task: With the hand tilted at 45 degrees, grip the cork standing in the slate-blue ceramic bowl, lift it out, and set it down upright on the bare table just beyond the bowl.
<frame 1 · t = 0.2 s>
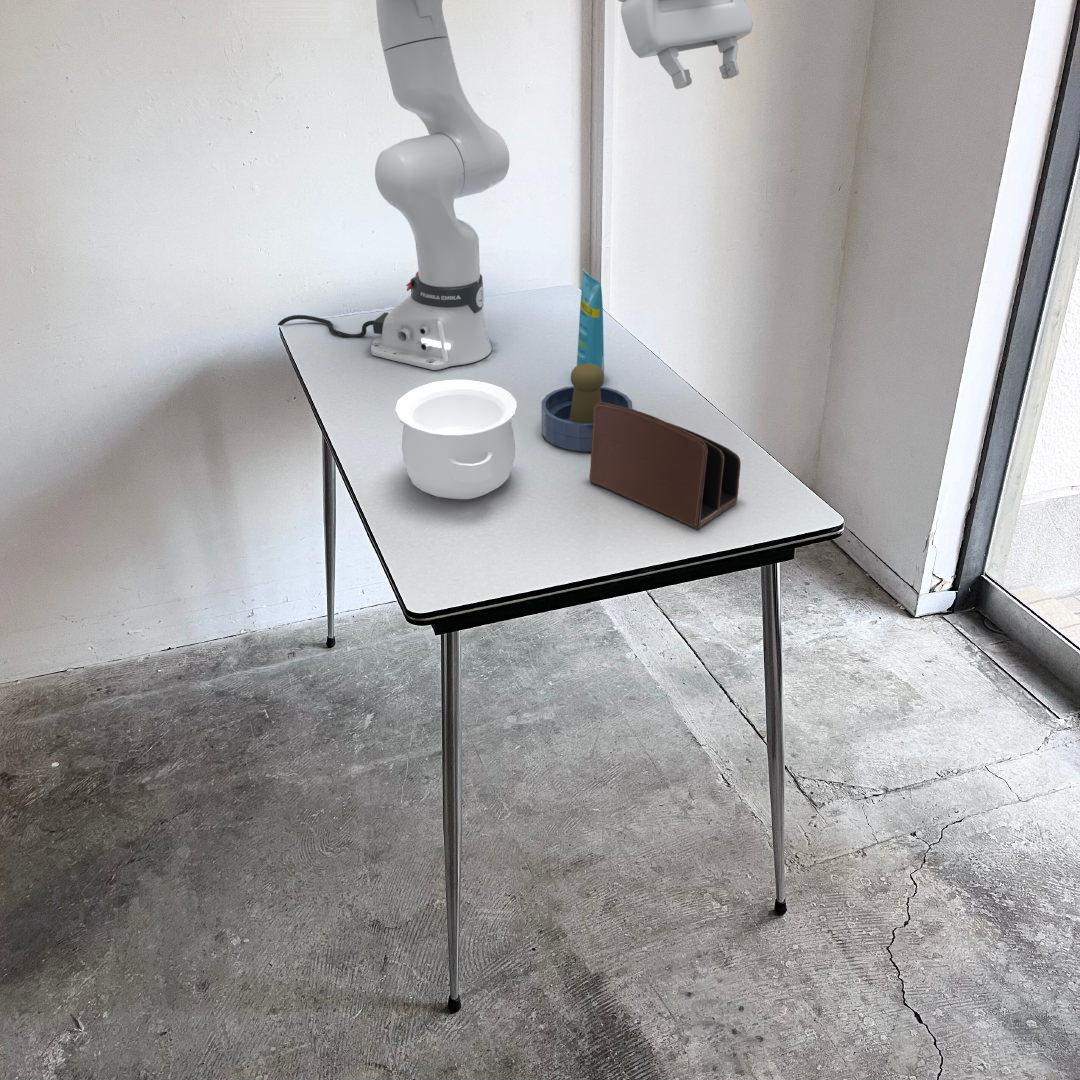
hand: (708, 82, 139), 54 cm above the table, tool tilted 30°, fingers open, 8 cm apart
bowl: (586, 432, 175), on the table
letter holder: (661, 493, 159), on the table
tube: (589, 382, 192), on the table
cork: (586, 431, 175), resting on bowl
pot: (460, 481, 163), on the table
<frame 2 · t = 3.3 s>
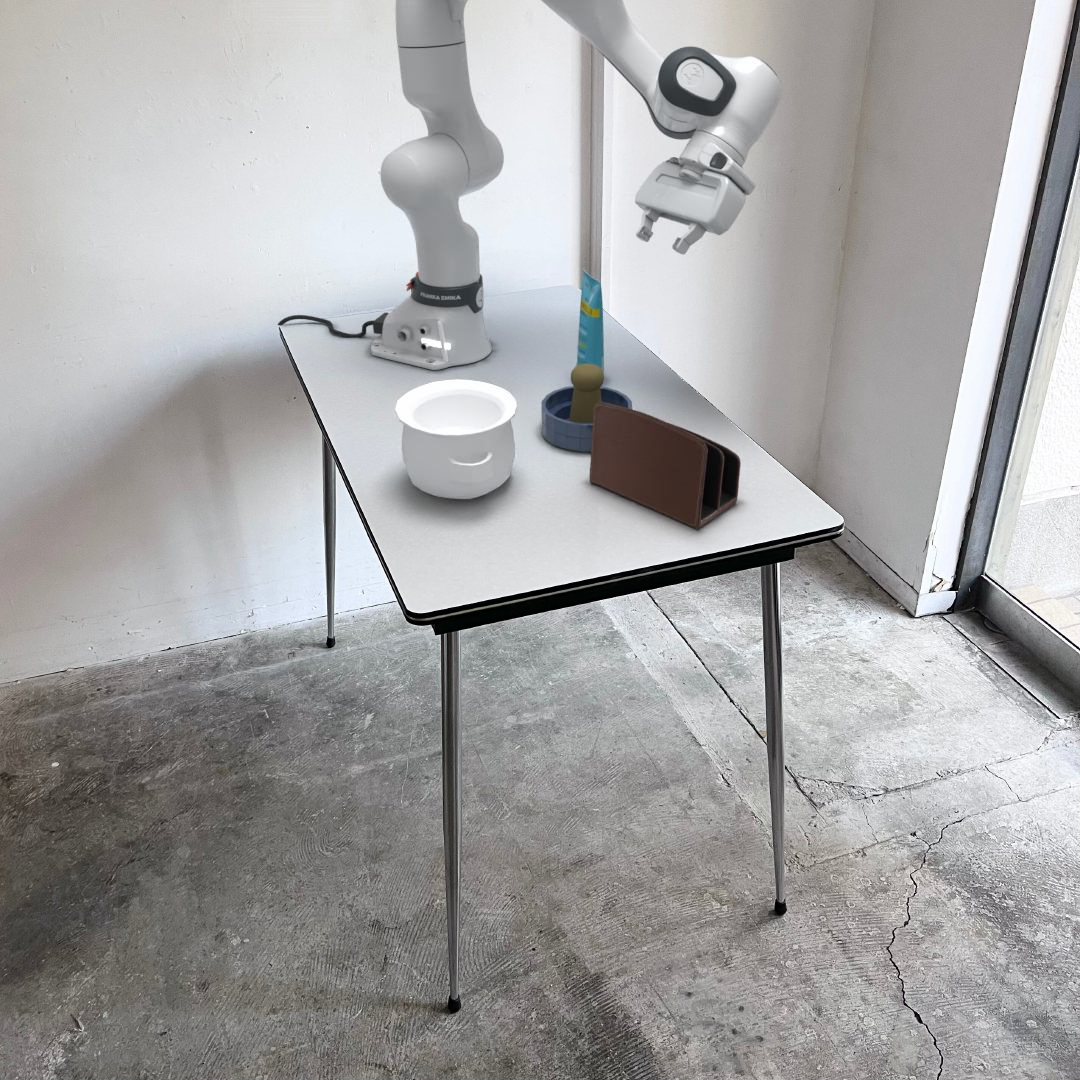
hand: (659, 245, 165), 28 cm above the table, tool tilted 40°, fingers open, 8 cm apart
nothing on the table moved.
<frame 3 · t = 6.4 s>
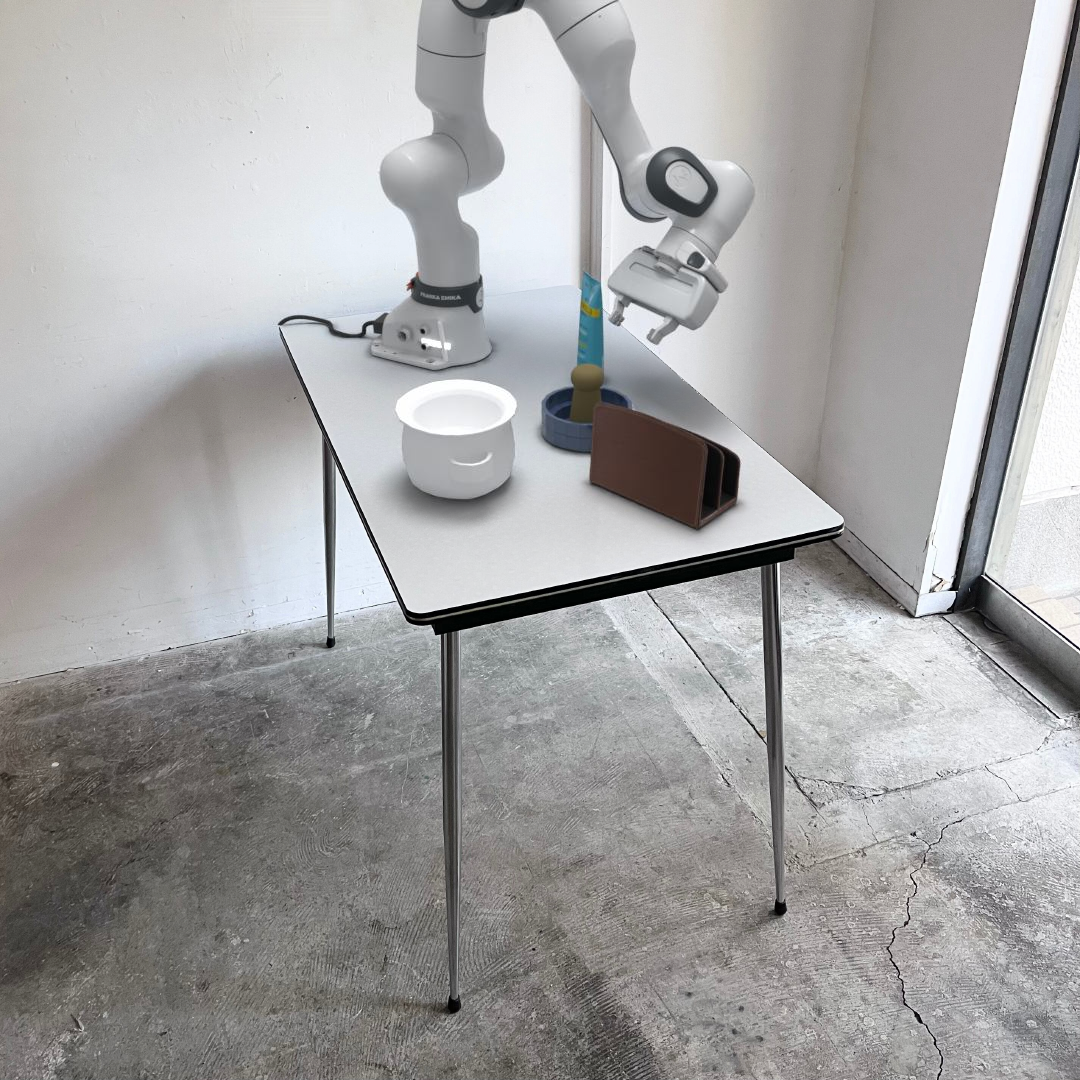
hand: (631, 332, 172), 15 cm above the table, tool tilted 45°, fingers open, 8 cm apart
nothing on the table moved.
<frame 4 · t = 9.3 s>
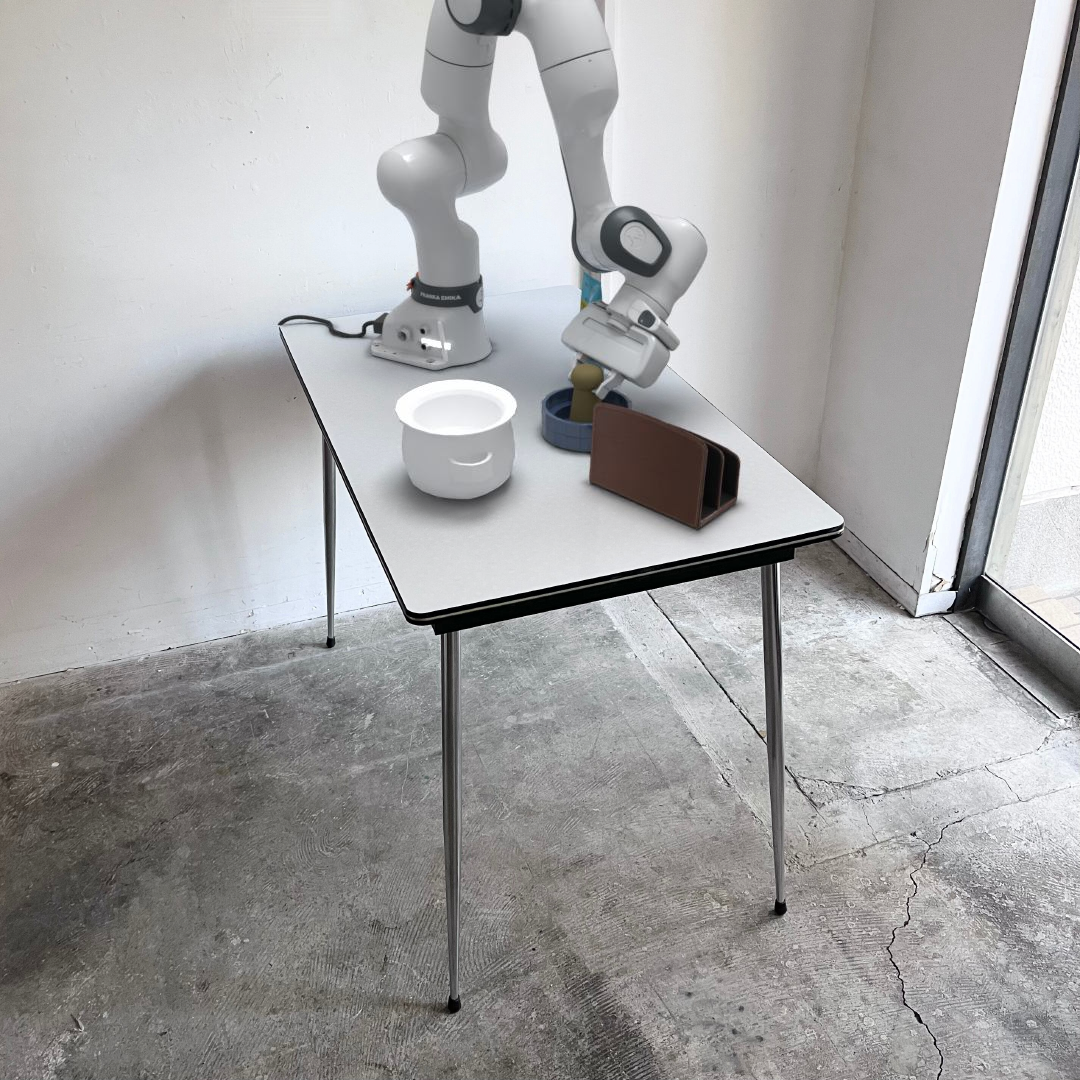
hand: (584, 389, 171), 8 cm above the table, tool tilted 45°, fingers closed on cork, 5 cm apart
cork: (586, 431, 175), resting on bowl, touching gripper
everything else where it was.
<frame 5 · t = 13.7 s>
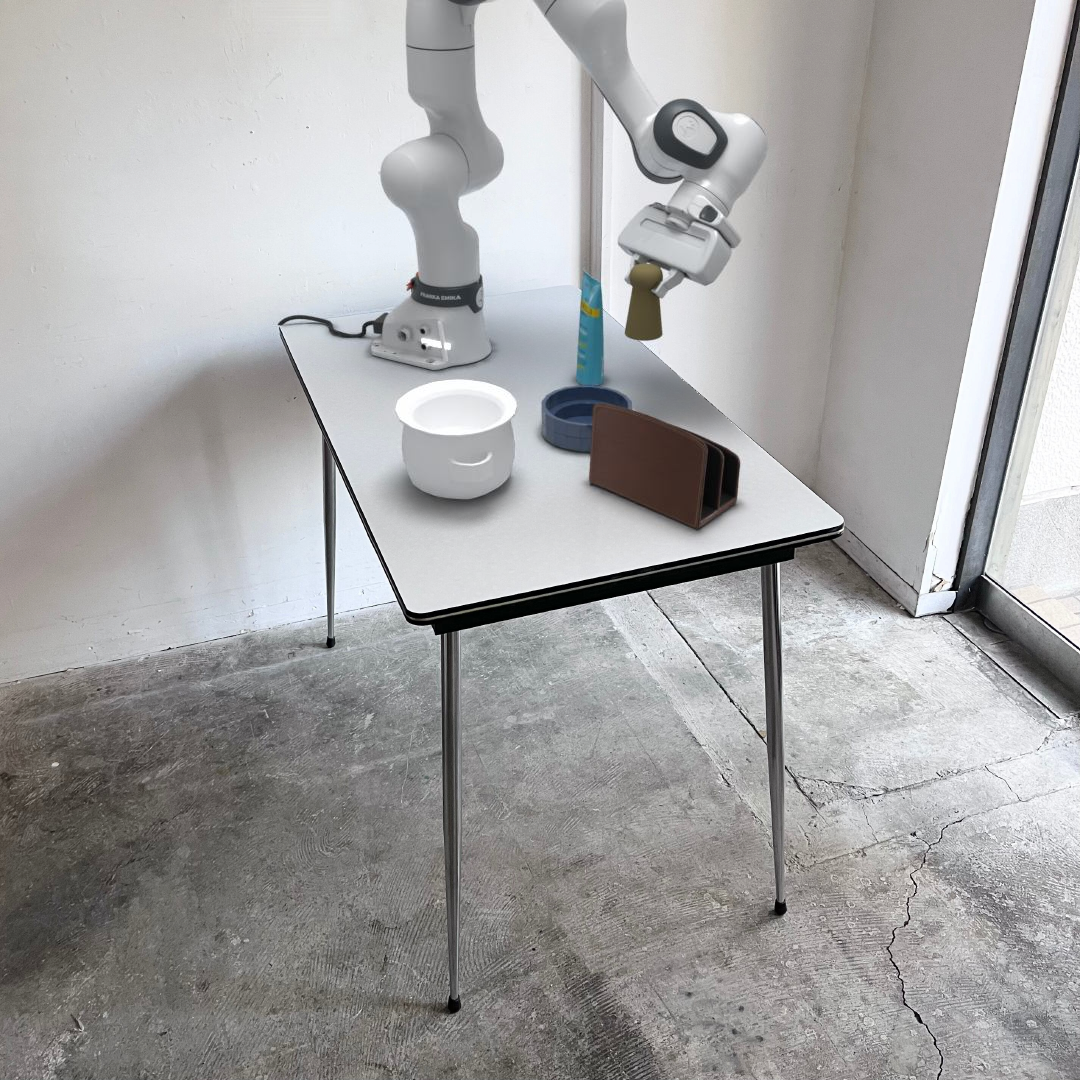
hand: (642, 289, 169), 22 cm above the table, tool tilted 45°, fingers closed on cork, 5 cm apart
cork: (643, 334, 173), point 14 cm above the table, touching gripper
everything else where it was.
when the fingers open (7 cm above the table, at t = 18.4 s): cork stays where it is, on the table.
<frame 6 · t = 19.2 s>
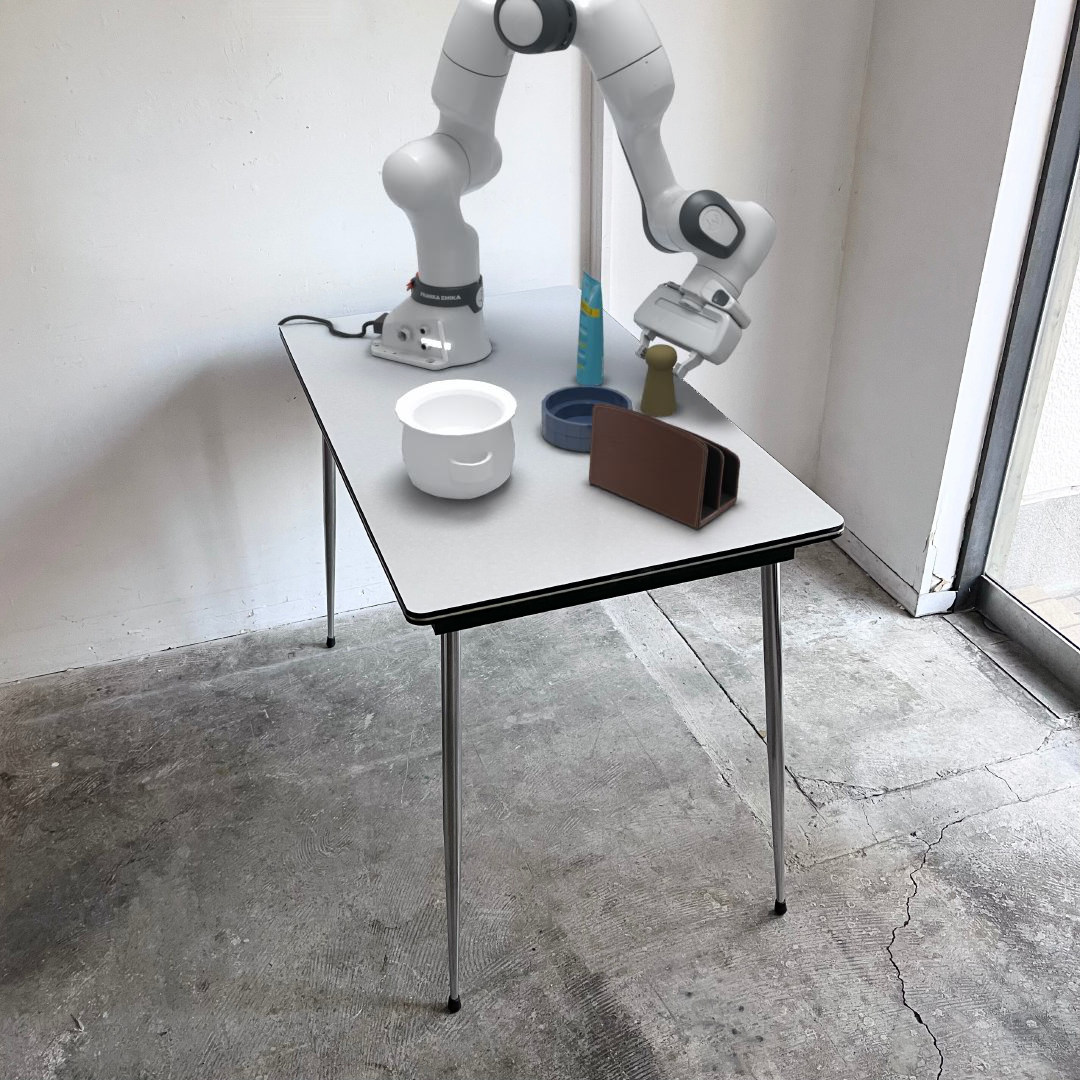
hand: (657, 366, 178), 8 cm above the table, tool tilted 45°, fingers open, 8 cm apart
cork: (658, 409, 183), on the table
everything else where it was.
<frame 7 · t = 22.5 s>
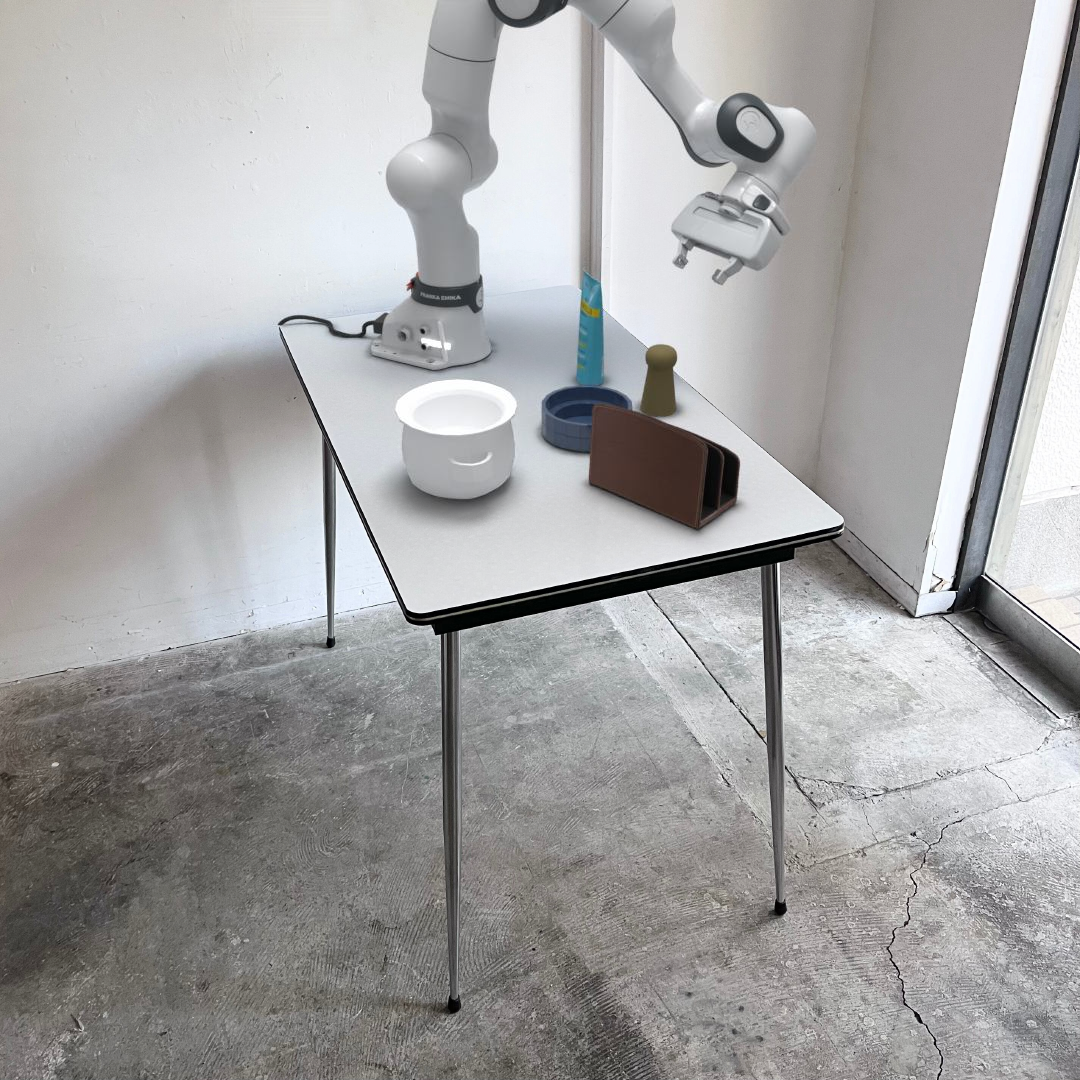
hand: (696, 273, 178), 21 cm above the table, tool tilted 45°, fingers open, 8 cm apart
nothing on the table moved.
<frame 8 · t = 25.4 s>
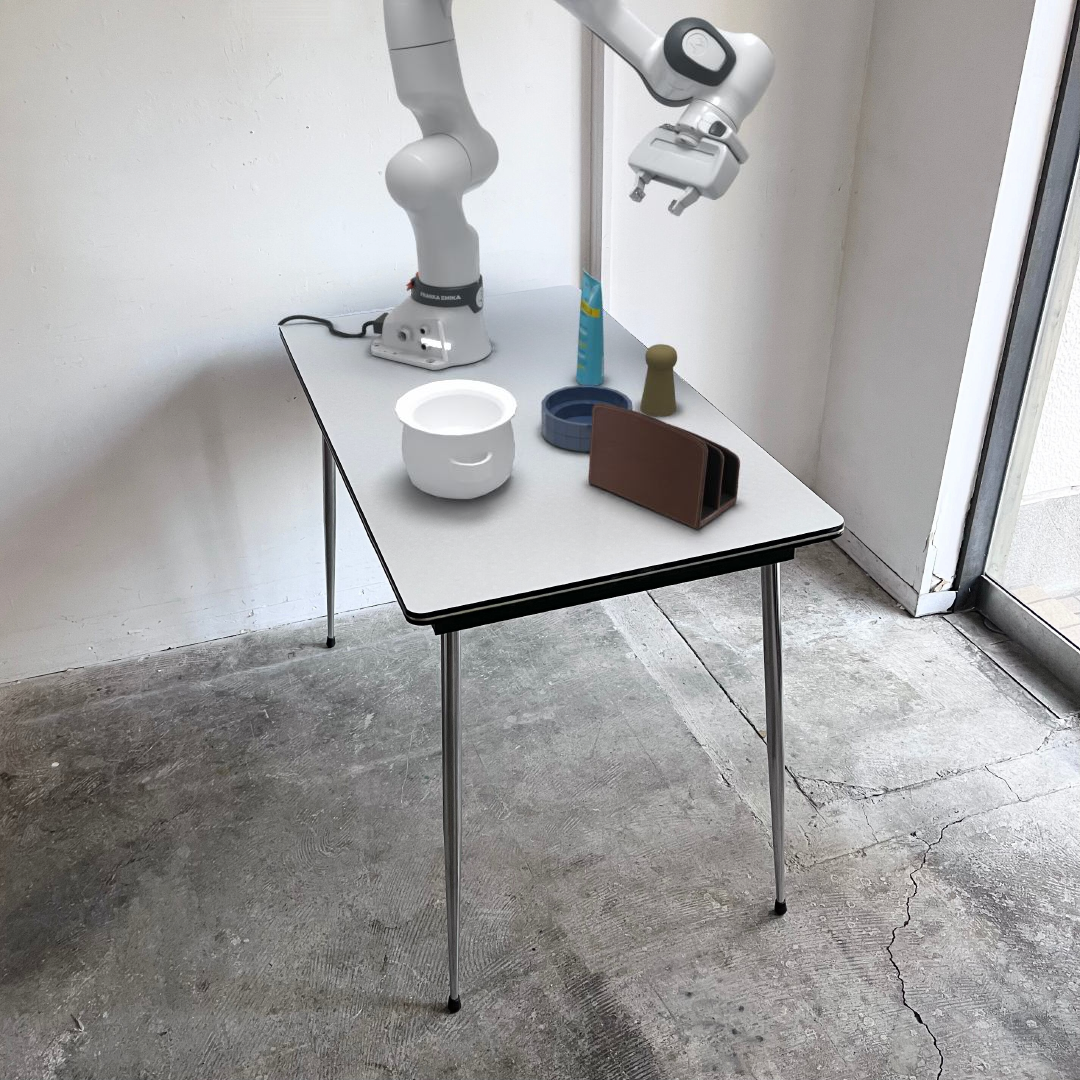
hand: (652, 206, 173), 31 cm above the table, tool tilted 45°, fingers open, 8 cm apart
nothing on the table moved.
at the end: cork inside the target area (0.2 cm from its centre), on the table; cork tilted 0°; cork touching table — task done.
